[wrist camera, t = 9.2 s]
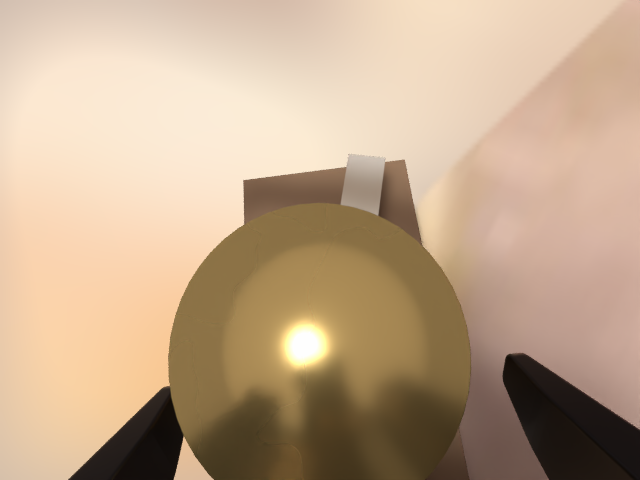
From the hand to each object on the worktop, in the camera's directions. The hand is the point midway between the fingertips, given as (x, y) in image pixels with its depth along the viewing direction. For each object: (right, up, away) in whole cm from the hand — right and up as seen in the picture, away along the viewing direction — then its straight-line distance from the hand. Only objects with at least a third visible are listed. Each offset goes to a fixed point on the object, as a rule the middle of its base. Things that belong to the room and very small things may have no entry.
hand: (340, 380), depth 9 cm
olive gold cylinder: (+1, -1, +8) cm, 8 cm away
